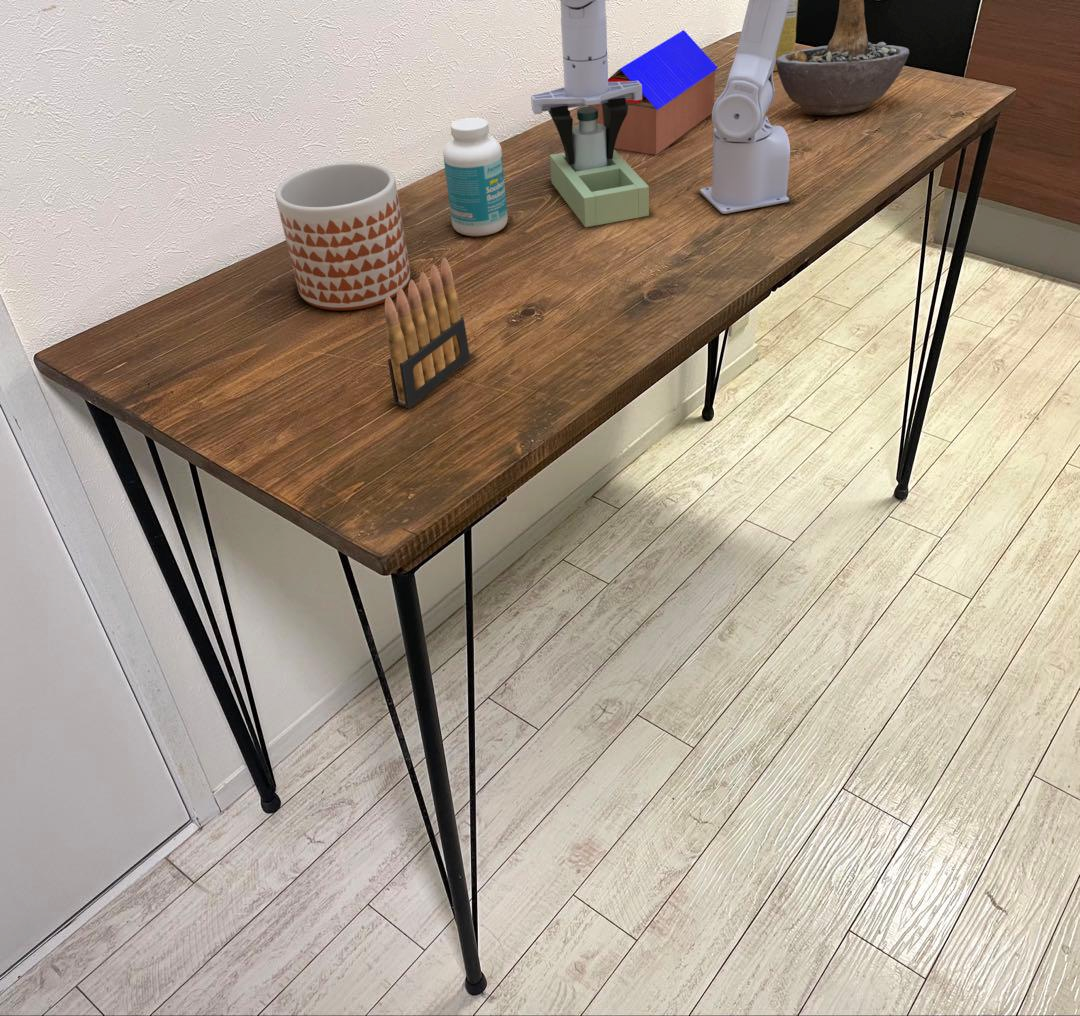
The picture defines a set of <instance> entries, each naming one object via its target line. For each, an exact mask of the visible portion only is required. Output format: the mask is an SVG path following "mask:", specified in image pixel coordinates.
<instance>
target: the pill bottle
mask: <svg viewBox="0 0 1080 1016" xmlns="http://www.w3.org/2000/svg"><path fill="white" fill-rule="evenodd" d="M489 132H490V128H489V122H488V120H487V119H485V118H482V117H464V118H459V119H457V120H455V121H453V122H452V123H451V124H450V135H451V136H452V138H453V139H451V140H450V141H449V142H447V143H446V144H445V147H444V149H443V154H442V155H443V164H444V173H445V179H446V187H447V195H448V203H449V212H450V218H451V225H452V228H453V230H454V231H456V232H457V233H459V234H461V235H463V236H469V237H484V236H489V235H492V234H496V233H497V232H500V231H501V230H503V229H504V228H505V227H506V226H507V223H508V221H509V220H508V205H507V194H506V185H505V173H504V172H505V171H504V162H503V160H504V159H503V150H502V146H501V144H500V142H499V141H498V140H497V139H496V138H494V137H492V136H490V133H489Z"/></svg>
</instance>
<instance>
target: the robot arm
mask: <svg viewBox="0 0 1080 1016" xmlns="http://www.w3.org/2000/svg"><path fill="white" fill-rule="evenodd" d="M559 1H560V29H561V48H562V65H563V66H562V68H563V84H564V86H563V87H559V88H556V89H553V90H548V91H544V92H541V93H536V94H530V101H531V103H530V104H531V111H532V113H533V115H541V114H543V112H548V113H549V115H550V117H551V119H552V121H553V124H554V126H555V127H556V131H557V132H558V135H559V137H560V141H561V144H562V146H563V151H564V153H565V156H566V161H567V162H568V164H569V165H571V164H574V152H573V143H572V128H573V126H574V119H573V117H572V116H571V111H570V109H571V108H581V107H588V105H594V104H602V110H603V120H604V126H605V127H606V143H607V159H612V158H613V152H614V150H615V148H614V147H615V143H616V139H617V136H618V133H619V130H620V128H621V125H622V123H623V121H624V119H625V117H626V115H627V112H628V106H627V104H626V100H631V99H633V100H635V101H637V100H642V85H641V83H640V82H639V81H629V82H608V79H609V65H608V63H609V62H608V61H609V60H608V59H609V58H608V31H607V30H608V29H607V26H608V25H607V13H606V0H559ZM789 3H790V0H748V3H747V6H746V11H745V15H744V18H743V19H744V20H743V23H742V28H741V32H740V36H739V41H738V45H737V49H736V53H735V56H734V59H733V62H732V64H731V68H730V71H729V74H728V76H727V80H726V85H725V88H724V89H723V91H722V93H720V95H719V96H718V97H717V99H716V100H715V101H714V106H713V110H712V114H711V121H712V125H713V126H714V127H713V137H712V138H713V139H712V164H711V166H712V167H711V186H708V187H703V188H700V189H699V193H700V194H701V195H702V196H703V197H704V198H705V199H706V200H707V201H708V202H709V203H710V204H711V205H712V206H713V207H714V208H715V209H716V210H718V211H719V212H720V213H721V214H723V215H725V214H726V215H727V214H732V213H738V212H742V211H743V212H744V211H747V210H748V211H749V210H752V209H758V208H765V207H769V206H774V205H780V204H786V203H789V202H790V198H789V197H788V186H789V185H788V184H789V173H790V172H789V171H790V160H791V144H790V139H789V136H788V133H787V131H786V130H785V128H784V127H783V126H781V125H772V124H771V123H770V120H769V118H768V115H766V113H767V112H768V110H769V108H770V107H771V105H772V103H773V102H774V98H775V94H776V91H775V90H776V89H775V83H774V79H773V78H774V77H773V76H774V71H773V70H774V66H775V59H776V51H777V48H778V44H779V40H780V36H781V33H782V29H783V25H784V21H785V18H786V14H787V10H788V6H789Z"/></svg>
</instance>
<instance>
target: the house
mask: <svg viewBox="0 0 1080 1016" xmlns="http://www.w3.org/2000/svg"><path fill="white" fill-rule="evenodd" d="M718 68H719V67H718V66H717V65H716V63H714V62H713V60H712V59H711V58H710V57H709V56H708V55H707V54H706V53H705V51H703V49H702V48H701V47H700V46H699V45H698V44H697V43H696V41H694V39H693V38H692V37H691V36H690V35H689V34H688V33H687V32H686V30H684V29H683V30H681V31H680V32H678V33H676V34H675V35H673V36H671V37H669V38H668V39H666V40H665V41H663V42H661V43H660V44H658V45H656V46H654V47H653V48H651V49H650V50H648V51H646V52H644V53H643V54H642V55H640V56H638V57H636V58H635V59H633V60H632V61H630V62H628V63H627V64H625V65H624V66H622V67H620V68H619V69H618V70H617V71H615V72H614V73H612V75H611V76H610V77H608V82H629V81H639V82H640V83H641V85H642V100H637V101H635V100H633V99H631V100H626V104H627V106H628V112H627V115H626V117H625V119H624V121H623V123H622V125H621V128H620V130H619V133H618V136H617V139H616V143H615V147H614V149H617V150H623V151H629V152H636V153H642V154H648V155H653V156H657V155H658V154H660V153H662V151H664V150H665V149H666V148H668V147H669V146H670V145H672V144H673V143H674V142H676V141H677V140H679V139H680V138H681V137H682V136H683V135H685V134H686V133H688V132H689V131H690V130H692V129H694V128H695V127H696V126H697V125H698V124H700V123H701V122H703V121H704V120H705V119H707V118H708V117H709V116H711V115H712V110H713V106H714V104H715V88H716V87H715V84H716V83H715V82H716V72H717V70H718ZM587 107H596V108H597V109H598V118H597V123H599V124H602V125H604V120H603V110H602V104H594V105H587Z"/></svg>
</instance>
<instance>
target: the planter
mask: <svg viewBox="0 0 1080 1016" xmlns="http://www.w3.org/2000/svg"><path fill="white" fill-rule="evenodd" d="M864 1H865V0H839V5H838V12H837V20H836V23H835V27H834V28H835V29H834V32H833V35H832V36H831V39H830V40H829V41H828V44H827V45H821V46H816V47H810V48H805V49H799V50H795V51H794V52H791V53H790V54H785V55H782V56H780V57H778V58H777V60H776V65H777V69H778V71H777V73H778V77H779V79H780V83H781V85H782V87H783V89H784V91H785V93H786V94H787V96H788V98H789V99H790V101H792V102H793V103H795V104H798V105H799V106H800V107H801V110H802V112H803V113H804V114H805V115H815V116H841V115H848V114H852V113H857V112H860V111H861V112H862V111H864V110H865V109H867V108H868V107H869V106H870V105H871V104H872V103H873V102H875V101H877V100H878V99H880V98H882V97H883V96H884V95H885V94H886V93H887V92H888V91H889V89H890V88H891V87H892V85H893V84H894V83H895V82H896V80H897V78H898V77H899V75H900V73H901V72H902V70H903V68H904V67H905V64H906V62H907V60H908V58H909V55H910V50H909V48H908V47H904V46H899V45H892V44H891V45H890V44H889V45H887V43H885V42H884V41H880V42H878V43H876V44H875V43H872V42H871V41H869V39H868V33H867V25H866V17H865V2H864Z"/></svg>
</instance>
